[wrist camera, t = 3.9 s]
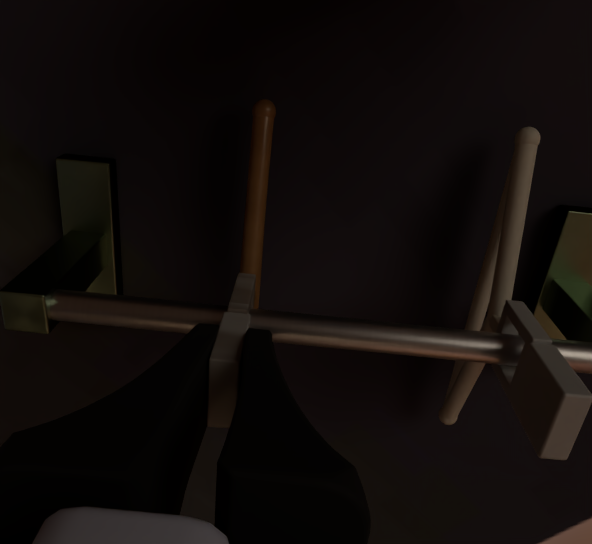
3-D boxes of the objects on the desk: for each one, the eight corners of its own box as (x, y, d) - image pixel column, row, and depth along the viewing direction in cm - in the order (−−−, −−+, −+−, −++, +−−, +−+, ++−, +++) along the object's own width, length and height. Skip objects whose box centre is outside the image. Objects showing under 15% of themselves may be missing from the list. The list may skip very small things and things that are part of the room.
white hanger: (452, 417, 23) (512, 587, 16) (435, 415, 23) (487, 584, 16) (537, 126, 18) (684, 193, 11) (514, 123, 18) (646, 190, 11)
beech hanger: (254, 397, 23) (228, 560, 16) (236, 395, 23) (202, 558, 16) (277, 98, 18) (253, 148, 11) (254, 96, 18) (214, 144, 11)
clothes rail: (554, 359, 23) (626, 460, 18) (79, 312, 23) (7, 400, 17) (610, 209, 20) (718, 277, 15) (63, 152, 20) (-29, 201, 14)
